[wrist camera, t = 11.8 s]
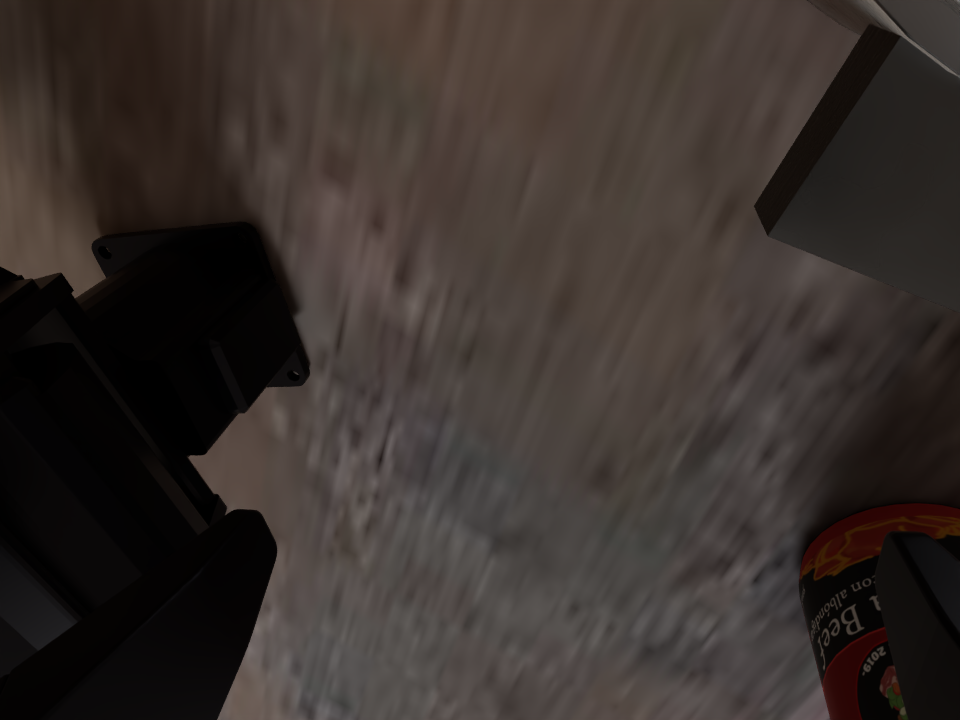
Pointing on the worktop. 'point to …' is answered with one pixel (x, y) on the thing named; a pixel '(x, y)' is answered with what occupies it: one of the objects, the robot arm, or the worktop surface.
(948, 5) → the lid
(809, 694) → the worktop surface
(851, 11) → the pot
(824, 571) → the canned food
